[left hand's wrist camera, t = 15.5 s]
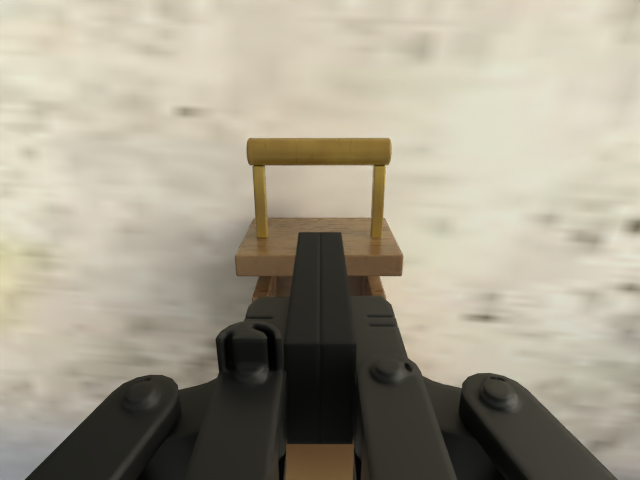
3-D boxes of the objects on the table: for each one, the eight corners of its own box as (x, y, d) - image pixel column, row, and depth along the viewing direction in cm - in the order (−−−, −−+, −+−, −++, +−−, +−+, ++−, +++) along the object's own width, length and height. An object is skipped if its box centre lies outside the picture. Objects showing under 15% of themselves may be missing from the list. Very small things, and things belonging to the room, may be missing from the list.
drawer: (248, 131, 25) (225, 145, 19) (389, 131, 25) (411, 145, 19) (267, 444, 34) (255, 522, 28) (372, 443, 34) (384, 522, 28)
